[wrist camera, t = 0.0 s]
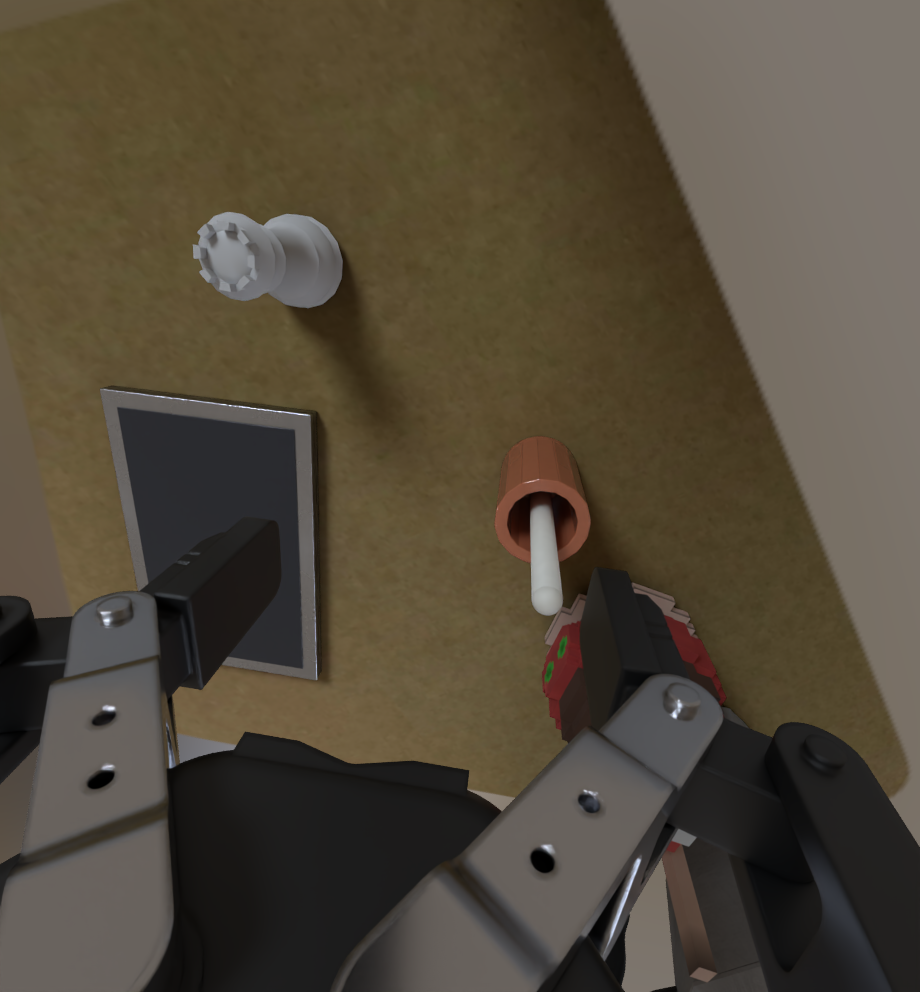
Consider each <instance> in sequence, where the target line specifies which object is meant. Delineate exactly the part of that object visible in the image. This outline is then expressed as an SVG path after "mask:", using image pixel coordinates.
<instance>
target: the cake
mask: <svg viewBox="0 0 920 992" xmlns="http://www.w3.org/2000/svg"><path fill="white" fill-rule="evenodd" d="M632 587H633V590H634V593H639V594H645V595H648V596H649V597H650V598H651V599H652V600H653V601H654V602H655V603H656V604H657V605H658V606H659V607H660V608H661V609H662V612H663V614H664V617H665V619H666V621H667V627H669V629H670V631H671V634H672V636H673V637H672V639H673V640H674V641H675V643H676V646H677V648H678V651H679V653H680V655H681V658H682V660H683V663H684V665H685V668H686V670H687V672H688V675H689V677H690V680H691V681H693V682H695V683H697V684H698V685H700V686H702V687H703V688H704V689H706V690H707V691H708V692H709V693H710V694H711V695H712V696H713V697H714V698H715V699H716V700H717V702H718V703H719V705H720V707H721V705H722V704H723V702H724V701H725V700H726V696H725V693H724V691H723V689H722V687H721V686H722V685H721V683H720V681H719V679H718V677H717V674H716V670H715V668H714V666H713V664H712V662H711V660H710V658H709V656H708V653H707V651H706V649H705V647H704V645H703V643H702V641H701V640H700V639H698V637H697V635H695V634H693V633H694V631H695V629H694V627H693V625H692V624H691V623H689V620H690V619H691V618H690V616H689V614H688V612H686V611H683V610H680V609H677V608H674V607H673V606H674V605H675V601H674V598H673V597H672V596H669V595H666V594H664V593H661V592H658V591H655V590H652V589H650V588H647V587H644V586H641V585H638V584H636V583H633V582H632ZM586 597H587V596H585V595H582V594H578V596H577V598H576V600H575V602H574V604H573V605H572V607H571V609H568V608H565V607H561V609H560V610H559V611H558V612H557V614H556V616H555V618H554V620H553V622H552V624H551V626H550V628H549V630H548V632H547V634H546V636H545V644H548V645H551V647H550V649H549V651H548V653H547V656H546V662H545V664H544V670H543V672H542V681H543V692H544V693H545V696H546V697H548V698H549V710H550V717H552V718H555V719H556V728H557V729H560V730H561V731H562V740H565V741H568V743H569V742H570V741H571V740H572V739H573V738H574V737H575V736H576V735H577V734H578V733H579V732H580V731H581V730H582V729H583V728H585V727H586V726H592V724H591V717H590V711H589V704H588V697H587V690H586V684H585V677H584V670H583V663H582V657H581V650H580V625H581V619H582V614H583V610H584V606H585V602H586ZM721 709H722V708H721ZM722 712H723V710H722ZM723 714H724V712H723ZM723 717H724V715H723ZM696 838H697V837H695V836H693V835H691V834H688V833H686V832H684V831H682V830H680V829H678V831H677V832H676V834H675V836H674V837H673V839H672V841H671V842H670V844H669V846H668V848H667V849H666V851H665V853H664V854H663V856H662V861H663V865H664V869H665V874H666V878H667V882H668V887H669V891H670V895H671V900H672V904H673V908H674V912H675V917H676V921H677V925H678V929H679V934H680V938H681V942H682V946H683V951H684V955H685V959H686V963H687V968H688V972H689V976H690V977H693V978H696V979H699V980H702V981H705V982H708V981H710V980H711V979H712V978H713V977H714V976H715V975H716V974H717V970H716V967H715V963H714V959H713V956H712V952H711V948H710V945H709V941H708V938H707V934H706V930H705V927H704V923H703V919H702V916H701V912H700V909H699V905H698V901H697V898H696V894H695V890H694V887H693V883H692V880H691V876H690V872H689V869H688V865H687V861H686V858H685V854H684V851H683V847H682V844H683V845H685V846H688V847H689V846H690V845H691V844H692V842H693V841H694V840H695V839H696Z"/></svg>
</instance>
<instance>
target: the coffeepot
mask: <svg viewBox="0 0 920 992" xmlns="http://www.w3.org/2000/svg"><path fill="white" fill-rule="evenodd" d="M721 708H722V710H723V712H724V714H723V715H724V717H725V718H726V719H728V720H730V721H732V722H734V723H737V724H739V725H741V726H744V727H746V728H748V726H747V725H746V724H745V723H744V722H743V720H741V719H740V718H739V717H738V716H737V715H735V714H734V713H733V711H732V710H731V709H730V708H725V707H721ZM682 847H683V851H684V854H685V858H686V861H687V865H688V869H689V872H690V876H691V880H692V883H693V887H694V890H695V894H696V898H697V901H698V905H699V909H700V912H701V916H702V919H703V923H704V927H705V930H706V934H707V938H708V941H709V945H710V948H711V952H712V956H713V959H714V963H715V967H716V970H717V974H716V975H715V976H714V977H713V978H712V979H711V980H710V981H708V982H705V981H702V980H699V979H696V978H693V977H690V976H689V972H688V968H687V963H686V959H685V955H684V951H683V946H682V942H681V938H680V934H679V929H678V925H677V921H676V917H675V912H674V908H673V904H672V900H671V895H670V891H669V887H668V882H667V878H666V888H667V899H668V910H669V920H670V932H671V942H672V953H673V964H674V974H675V985H676V986H673V987H668V988H663V989H659V990H654V991H652V992H768V989H767V986H766V982H765V979H764V976H763V972H762V969H761V965H760V962H759V959H758V955H757V952H756V948H755V945H754V942H753V938H752V935H751V931H750V928H749V925H748V921H747V918H746V914H745V911H744V908H743V904H742V901H741V897H740V894H739V891H738V887H737V884H736V880H735V877H734V874H733V870H732V867H731V863H730V860H729V857H728V853H727V852H726V851H724V850H722V849H720V848H718V847H715V846H713V845H711V844H709V843H707V842H705V841H703V840H701V839H699V838H696V839H695V840H694V841H693V842H692V844H691V845H690V846H689V847H688V846H685V845H683V844H682ZM629 917H630V914H629V916H628V918H627V920H626V922H625V924H624V926H623V928H622V930H621V932H620V934H619V936H618V938H617V940H616V942H615V944H614V946H613V947H612V949H611V951H610V953H609V955H608V956H607V958H606V960H605V962H606V964H607V965H608V967H609V969H610V970H611V972H612V973H613V975H614V976H615V978H616V980H617V981H618V983H619V984H620V986H621V985H622V981H623V977H624V973H625V964H626V962H625V961H626V955H625V932H626V928H627V925H628V922H629ZM621 987H622V986H621ZM623 991H624V990H623ZM624 992H625V991H624Z"/></svg>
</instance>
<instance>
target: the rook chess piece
mask: <svg viewBox="0 0 920 992" xmlns="http://www.w3.org/2000/svg"><path fill="white" fill-rule="evenodd" d="M197 233H198V234H199V235H200V236H201V237H200V240H199V245H193V252H194V259H199V260H200V263H201V265H202V268H203V270H201V271H200V274H201V275H202V276H203V277H204V279H205V280H206V281H207V282H208V283H211V284H212V285H213V286H214V287H215V288H216V290H218V291H219V292H221V293H222V294H224V295H226V296H227V297H229V298H230V299H236V300H242V301H247V300H251V299H254V298H258V297H260V296H261V295H262V294H264V293H269V294H270V295H271V296H273V297H274V298H276V299H278V300H279V301H281V302H282V303H284V304H286V305H290V306H296V307H301V308H302V307H305V308H311V307H314V306H318V305H322V304H324V303H325V302H326V301H327V300H328V299H329V298H331V297H332V296H333V295H334V294H335V292H336V290H337V288H338V286H339V283H340V281H341V279H342V264H343V260H342V257H341V253H340V250H339V246H338V243H337V241H336V240H335V238H334V237H333V236H332V234H331V233H330V232H329V230H328V229H327V227H325V226H324V225H322V224H321V223H319V222H318V221H316V220H315V219H313V218H312V217H308V216H302V215H296V214H294V215H291V214H285V215H282V216H279V217H276V218H272V219H270V220H269V221H268V222H267V223H266V224H265V225H264V226H262V225H261V224H258V223H256V222H254V221H253V220H251V219H250V218H248V217H247V216H245V215H243V214H238V213H232V212H226V213H223V214H220V215H217V216H214V217H213V218H212V219H211V220H210V221H209V222H208V223H207V224H205V225H204V226H203V227H202V228H201V229H200V230H199V231H198V232H197Z"/></svg>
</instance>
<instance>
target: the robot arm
mask: <svg viewBox="0 0 920 992" xmlns="http://www.w3.org/2000/svg"><path fill="white" fill-rule="evenodd" d="M280 582H281V554H280V535H279V526H278V524H277V522H276V521H274V520H268V519H261V518H254V517H244V518H242V519H241V520H240V521H238V522H237V523H236V524H235V525H234V526H233V527H231V528H230V529H229V530H228V531H227V532H225V533H224V532H221V533H218V534H216V535H214V536H211V537H209V538H207V539H204V540H202V541H201V542H199V543H198V544H197V545H196V546H194V547H193V548H192V549H191V550H190V551H188V554H185V555H183V556H182V557H181V558H180V559H178V560H177V562H176V563H173V564H172V565H171V566H170V567H168V568H167V569H166V570H165V571H163V572H162V573H161V574H160V575H159V576H157V577H156V578H155V579H154V580H152V581H151V582H150V583H149V584H147V585H146V586H145V587H144V588H142V589H141V590H140V591H122V592H116V593H111V594H107V595H104V596H101V597H99V598H96V599H94V600H92V601H90V602H88V603H86V604H85V605H83V606H82V607H81V608H79V609H78V610H77V612H76V613H75V614H74V616H73V617H56V618H38V619H34V615H33V612H32V608H31V605H30V603H29V601H28V600H26V599H24V598H21V597H17V596H0V784H1V783H2V782H3V781H4V780H5V779H6V778H7V777H8V776H9V775H10V774H11V773H12V772H13V770H15V769H16V767H17V766H19V764H20V763H21V762H22V761H23V760H24V759H25V758H26V757H27V756H28V755H29V754H30V753H31V752H32V751H33V750H34V749H35V748H36V747H37V746H38V745H39V750H38V757H37V762H36V767H35V773H34V779H33V785H32V791H31V796H30V802H29V808H28V814H27V820H26V825H25V831H24V837H23V843H22V849H21V853H19V854H17V855H16V856H14V857H12V858H10V859H8V860H7V861H5V862H3V863H1V864H0V992H624V991H623V989H622V987H621V986H620V984H619V983H618V981H617V980H616V978H615V976H614V975H613V973H612V972H611V970H610V969H609V967H608V965H607V964H606V962H605V960H606V958H607V956H608V955H609V953H610V951H611V949H612V947H613V946H614V944H615V942H616V940H617V938H618V936H619V934H620V932H621V930H622V928H623V926H624V924H625V922H626V920H627V918H628V916H629V914H630V912H631V910H632V908H633V906H634V904H635V902H636V900H637V898H638V897H639V895H640V893H641V892H642V890H643V888H644V886H645V885H646V883H647V881H648V880H649V878H650V876H651V875H652V873H653V871H654V870H655V868H656V866H657V864H658V863H659V861H660V859H661V858H662V856H663V854H664V853H665V851H666V849H667V848H668V846H669V844H670V842H671V841H672V839H673V837H674V836H675V834H676V832H677V831H678V829H680V830H682V831H684V832H686V833H688V834H691V835H693V836H695V837H697V838H699V839H701V840H703V841H705V842H707V843H709V844H711V845H713V846H715V847H718V848H720V849H722V850H724V851H726V852H727V853H728V857H729V860H730V863H731V867H732V870H733V874H734V877H735V880H736V884H737V887H738V891H739V894H740V897H741V901H742V904H743V908H744V911H745V914H746V918H747V921H748V925H749V928H750V931H751V935H752V938H753V942H754V945H755V948H756V952H757V955H758V959H759V962H760V965H761V969H762V972H763V976H764V979H765V982H766V986H767V989H768V992H920V847H919V846H918V844H917V842H916V841H915V839H914V838H913V836H912V834H911V833H910V831H909V830H908V828H907V827H906V825H905V823H904V822H903V820H902V819H901V817H900V816H899V814H898V812H897V811H896V809H895V808H894V806H893V805H892V803H891V802H890V800H889V798H888V797H887V795H886V794H885V792H884V791H883V789H882V787H881V786H880V784H879V783H878V781H877V780H876V778H875V776H874V775H873V773H872V772H871V770H870V769H869V767H868V765H867V764H866V763H865V761H864V760H863V759H862V758H861V757H860V755H859V754H858V753H857V752H856V751H854V750H853V749H852V748H851V747H850V746H849V745H847V744H846V743H845V742H844V741H842V740H841V739H839V738H838V737H836V736H834V735H832V734H831V733H829V732H827V731H825V730H823V729H820V728H818V727H815V726H812V725H809V724H805V723H798V722H790V723H785V724H782V725H781V726H779V727H778V728H777V730H776V732H775V734H774V736H773V738H772V737H769V736H767V735H764V734H762V733H759V732H757V731H754V730H752V729H749V728H746V727H744V726H741V725H739V724H737V723H734V722H732V721H730V720H728V719H726V718H725V717H723V712H722V709H721V707H720V705H719V703H718V702H717V700H716V699H715V698H714V697H713V696H712V695H711V694H710V693H709V692H708V691H707V690H706V689H704V688H703V687H702V686H700V685H698V684H697V683H695V682H693V681H691V680H690V677H689V675H688V672H687V670H686V668H685V665H684V663H683V660H682V658H681V655H680V653H679V651H678V648H677V646H676V643H675V641H674V640H673V639H672V637H673V636H672V634H671V631H670V629H669V627H667V621H666V619H665V617H664V614H663V612H662V609H661V608H660V607H659V606H658V605H657V604H656V603H655V602H654V601H653V600H652V599H651V598H650V597H649V596H648V595H645V594H639V593H634V590H633V587H632V584H631V581H630V578H629V575H628V573H627V572H626V571H621V570H614V569H607V568H600V567H595V568H594V570H593V573H592V576H591V580H590V584H589V589H588V593H587V597H586V602H585V606H584V610H583V614H582V619H581V625H580V650H581V657H582V663H583V670H584V677H585V684H586V690H587V697H588V704H589V711H590V717H591V724H592V726H586V727H585V728H583V729H582V730H581V731H580V732H579V733H578V734H577V735H576V736H575V737H574V738H573V739H572V740H571V741H570V742H569V743H568V744H567V745H566V746H565V747H564V748H563V750H562V751H561V752H560V753H559V754H558V755H557V756H556V757H555V758H554V759H553V760H552V761H551V762H550V763H549V764H548V765H547V766H546V767H545V768H544V769H543V770H542V771H541V772H540V773H539V774H538V775H537V776H536V777H535V778H534V779H533V780H532V781H531V782H530V783H529V784H528V785H527V787H526V788H525V789H524V790H523V791H522V792H521V793H520V794H519V795H518V796H517V797H516V798H515V799H514V800H513V801H512V802H511V803H510V804H509V805H508V806H507V807H506V808H505V809H504V810H503V811H501V810H499V809H498V808H497V807H495V806H494V805H493V804H492V803H490V802H489V801H487V800H486V799H484V798H482V797H481V796H479V795H477V794H475V793H473V792H470V791H469V790H467V786H468V777H469V770H464V769H458V768H452V767H446V766H441V765H435V764H429V763H423V762H418V761H399V762H382V763H365V764H351V763H347V762H344V761H342V760H340V759H338V758H335V757H333V756H331V755H329V754H327V753H324V752H322V751H320V750H318V749H316V748H313V747H311V746H309V745H307V744H305V743H302V742H300V741H297V740H291V739H285V738H279V737H273V736H268V735H262V734H256V733H250V732H245V733H244V735H243V736H242V738H241V739H240V741H239V743H238V744H237V746H236V747H235V749H234V750H230V751H222V752H217V753H211V754H207V755H203V756H200V757H197V758H194V759H191V760H188V761H185V762H183V763H180V760H179V750H178V742H177V741H178V740H177V731H176V721H175V711H174V703H173V697H172V694H173V693H174V692H175V691H176V690H177V689H178V687H179V686H182V687H188V688H194V689H199V690H202V689H203V687H204V686H205V685H206V684H207V682H208V681H209V680H210V679H211V677H212V676H213V675H214V674H215V672H216V671H217V670H218V668H219V667H220V666H221V665H222V663H223V662H224V661H225V660H226V658H227V657H228V656H229V655H230V653H231V652H232V651H233V649H234V648H235V647H236V646H237V644H238V643H239V642H240V641H241V639H242V638H243V637H244V636H245V634H246V633H247V632H248V630H249V629H250V628H251V627H252V625H253V624H254V623H255V622H256V620H257V619H258V618H259V617H260V615H261V614H262V613H263V611H264V610H265V609H266V608H267V606H268V605H269V604H270V603H271V601H272V600H273V599H274V597H275V596H276V594H277V592H278V589H279V586H280Z"/></svg>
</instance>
